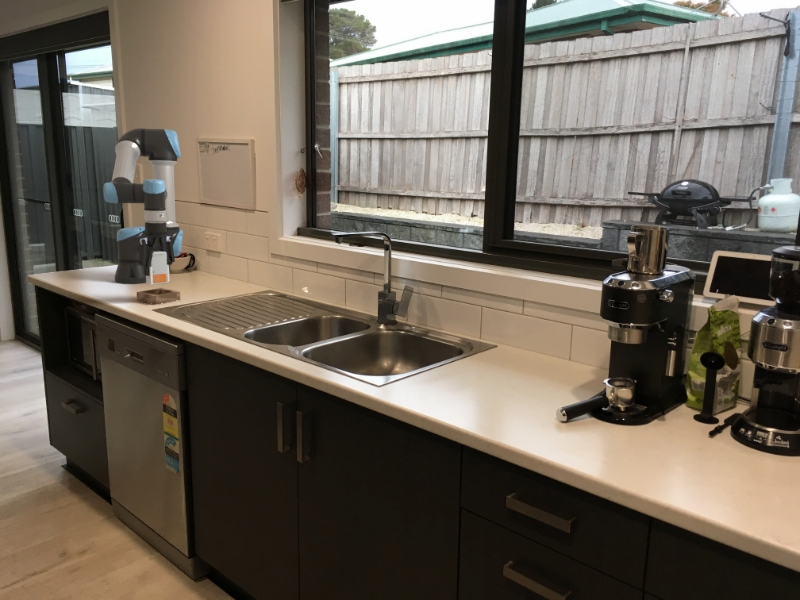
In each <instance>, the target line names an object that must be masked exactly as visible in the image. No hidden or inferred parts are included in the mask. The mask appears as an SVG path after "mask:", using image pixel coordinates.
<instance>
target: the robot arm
mask: <svg viewBox="0 0 800 600" xmlns="http://www.w3.org/2000/svg"><path fill="white" fill-rule="evenodd" d="M114 152H115V156H116V157H115V160H114V161H115V163H114V169H113V173H112V178H111V181H110V182H105V183H104V184H103V190H102V191H103V199H104V201H105V202H107V203H111V204H143V207H144V208H143V218H144V221H145V223H144V225H141V226H140V225H139V226H137V225H136V226H132V227H131V226H130V227H125V228H120V229H118V230H117V232H116V244H117V262H118V263H117V266H116V271H115V274H114V282H115V283H119V284H142V283H143V284H144V283H146V284H147V285H154V284H153V279H152V267H150V264H151V260H152V256H153V255H152V253H154V251H163V252H166V253H167V283H169V282H170V273H171V266H172V265H173V263H175V262H176V260H175V259H176V258H175V257H179V256H180V255H181V252H182V245H183V240H184V239H183V237H184V236H183V235H184V231H183V230H182V229H180V225H179V224H178V223H177V222H176V220H177V219H176V200H175V199H176V198H175V194H176V192H175V166H176V165H177V163H178V159H180V158H181V157H182V156H181V148H180V141H179V137H178V133H177V132H176V131H175V130H173V129H165V128H164V129H163V128H139V127H138V128H133V129H131V130H128V131H126V132H125V133H123V134H122V135H121V136H120V137H119V138H118V140H117V141H116V144H115V148H114ZM140 157H141V158H142V157H143V158H148V159H147V160H148V163H150V164H151V166H152V179H146V178H145V179H144V180H142V181H143V182H142V183H139V182H138V183H137V182H136V183H135V182H134V181H135V180H134V179H135V173H136V166H137V160H138V159H139V158H140Z"/></svg>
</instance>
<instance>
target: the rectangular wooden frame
mask: <svg viewBox="0 0 800 600" xmlns="http://www.w3.org/2000/svg"><path fill="white" fill-rule="evenodd" d="M176 300H179V301H181V291H178V290H174V289H168V288H164V287H159V288H153V289H147V290H140V291H136V301H137V302H141V301H142V302H141V303H145V302H148V303H147V304H150V303H152V304H151V305H154V304H158V305H162V304H161V303H163V304H167V303H166V302H169V303H172V302H171V301H174V302H177V301H176Z"/></svg>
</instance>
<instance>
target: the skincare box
mask: <svg viewBox="0 0 800 600" xmlns="http://www.w3.org/2000/svg"><path fill="white" fill-rule="evenodd" d="M152 255H153V256H152V260H151V264H150V267H152V279H153V284H152V285H164V284H168V282H167V253H166V252H163V251H154V253H152Z"/></svg>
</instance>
